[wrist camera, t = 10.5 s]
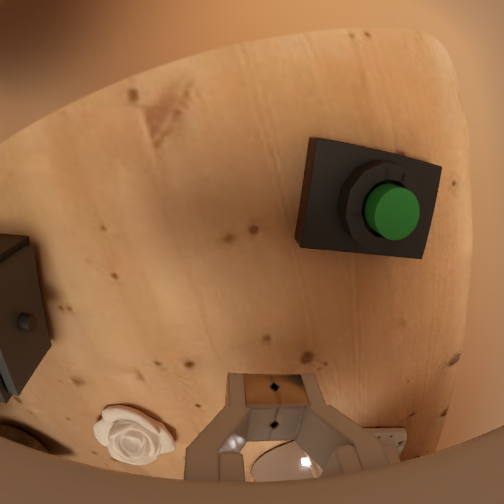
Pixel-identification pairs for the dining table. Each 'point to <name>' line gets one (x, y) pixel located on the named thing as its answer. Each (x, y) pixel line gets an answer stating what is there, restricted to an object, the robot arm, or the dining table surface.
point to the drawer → (21, 320)
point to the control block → (360, 198)
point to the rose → (132, 435)
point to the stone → (21, 437)
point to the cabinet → (3, 248)
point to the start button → (392, 211)
